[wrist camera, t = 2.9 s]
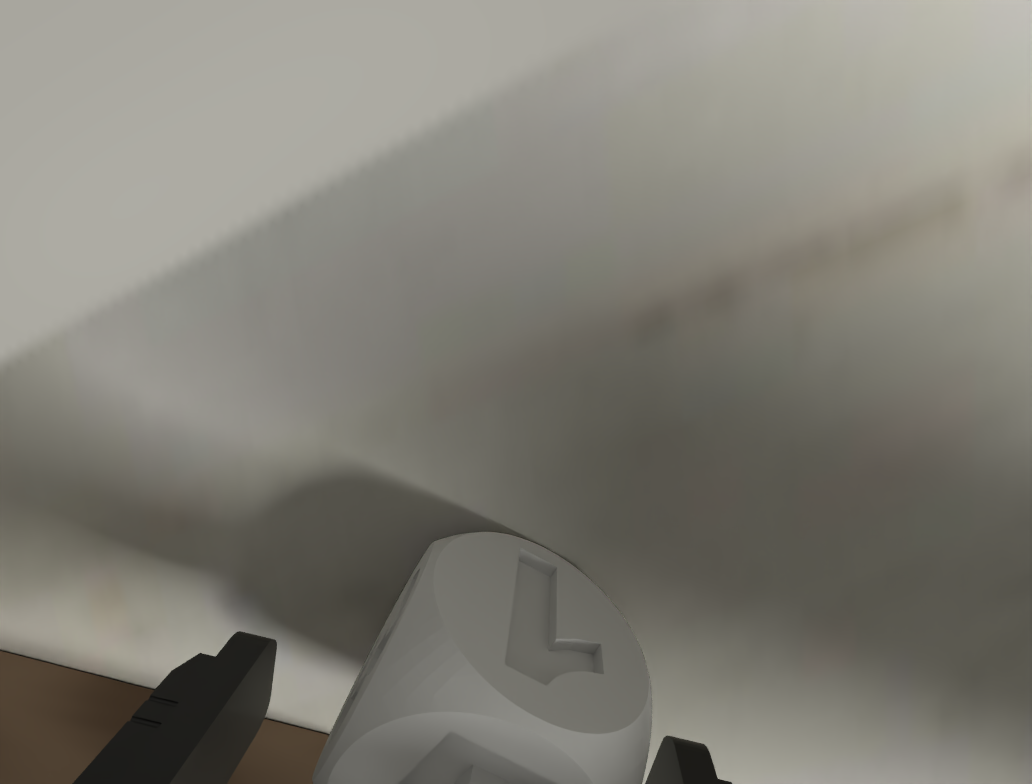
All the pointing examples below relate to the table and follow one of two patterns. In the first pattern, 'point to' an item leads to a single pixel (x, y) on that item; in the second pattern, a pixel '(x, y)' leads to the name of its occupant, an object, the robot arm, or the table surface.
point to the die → (496, 678)
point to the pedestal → (111, 728)
